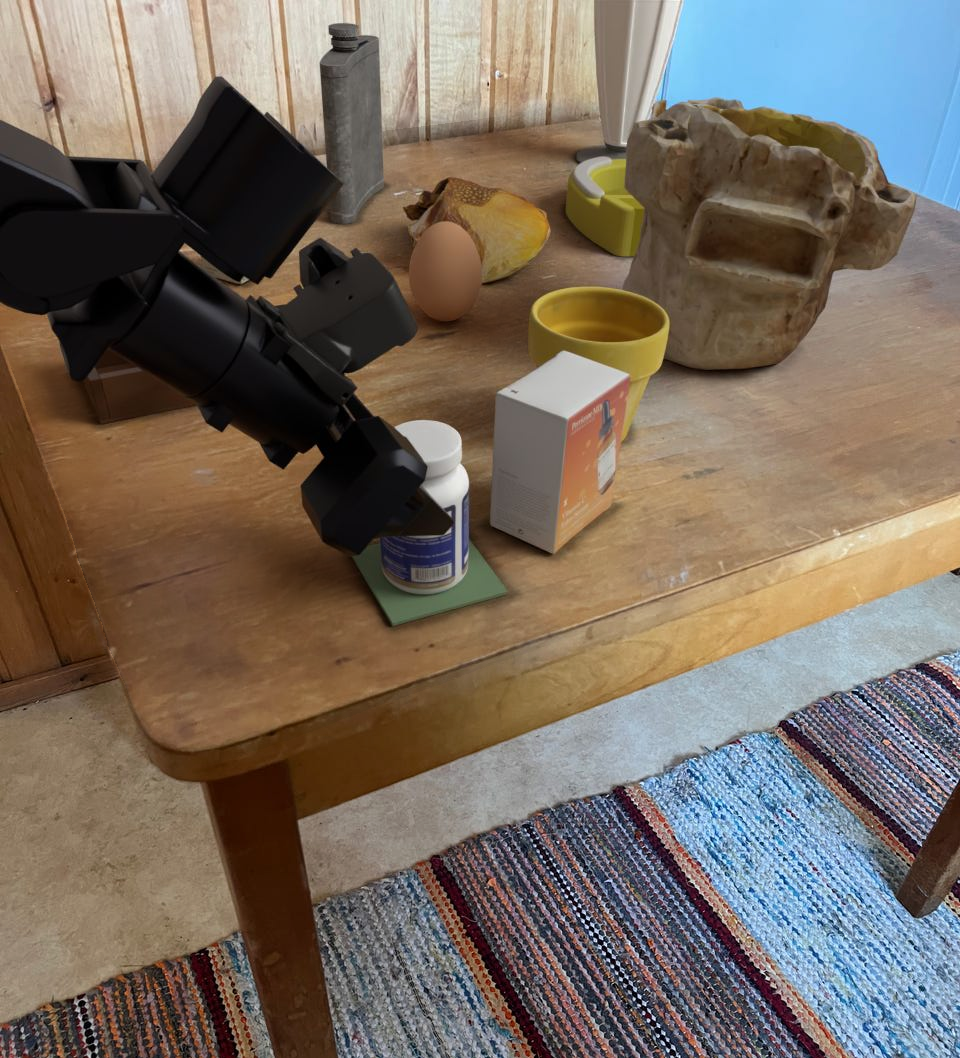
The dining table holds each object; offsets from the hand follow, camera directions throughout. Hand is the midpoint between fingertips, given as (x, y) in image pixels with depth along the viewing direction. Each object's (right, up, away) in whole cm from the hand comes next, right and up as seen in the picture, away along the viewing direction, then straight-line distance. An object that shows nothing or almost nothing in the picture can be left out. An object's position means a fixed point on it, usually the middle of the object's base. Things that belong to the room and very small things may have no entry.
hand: (418, 486), depth 60 cm
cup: (+22, +54, +70) cm, 91 cm away
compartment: (-24, +12, +22) cm, 35 cm away
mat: (0, -5, +5) cm, 7 cm away
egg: (0, +21, +33) cm, 39 cm away
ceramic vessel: (+28, +18, +31) cm, 45 cm away
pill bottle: (0, -5, +5) cm, 7 cm away
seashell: (+3, +32, +45) cm, 55 cm away
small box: (+9, -1, +10) cm, 14 cm away
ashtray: (+22, +39, +54) cm, 70 cm away
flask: (-11, +42, +55) cm, 70 cm away
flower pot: (+12, +8, +19) cm, 24 cm away
